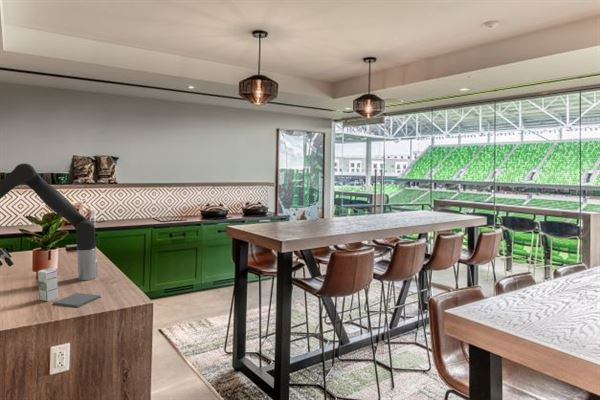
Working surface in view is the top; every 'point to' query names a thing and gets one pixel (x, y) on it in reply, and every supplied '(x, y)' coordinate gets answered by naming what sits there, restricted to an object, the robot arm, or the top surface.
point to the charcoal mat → (77, 300)
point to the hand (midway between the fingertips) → (6, 265)
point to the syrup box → (47, 284)
